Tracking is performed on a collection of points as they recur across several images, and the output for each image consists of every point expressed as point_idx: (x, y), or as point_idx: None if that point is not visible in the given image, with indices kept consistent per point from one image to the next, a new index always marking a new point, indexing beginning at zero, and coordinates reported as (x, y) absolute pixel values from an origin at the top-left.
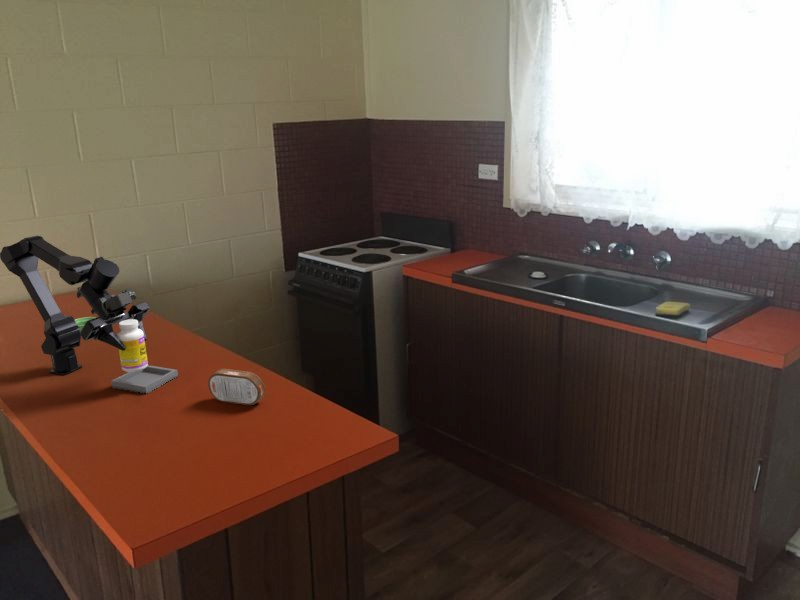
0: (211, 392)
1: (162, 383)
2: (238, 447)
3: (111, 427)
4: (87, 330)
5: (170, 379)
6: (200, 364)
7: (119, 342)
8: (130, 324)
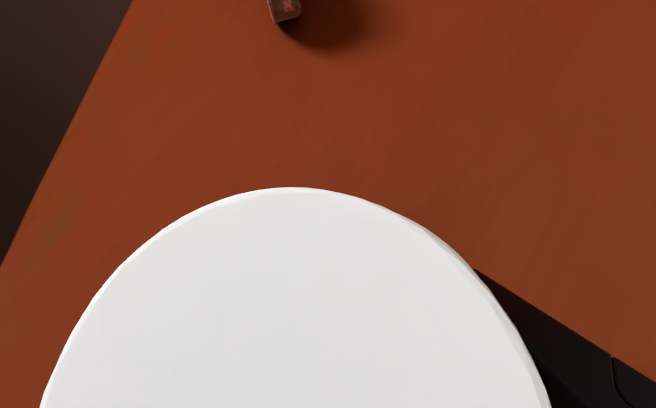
0: (300, 4)
1: None
2: None
3: (611, 101)
4: None
5: None
6: None
7: (529, 312)
8: (359, 198)
